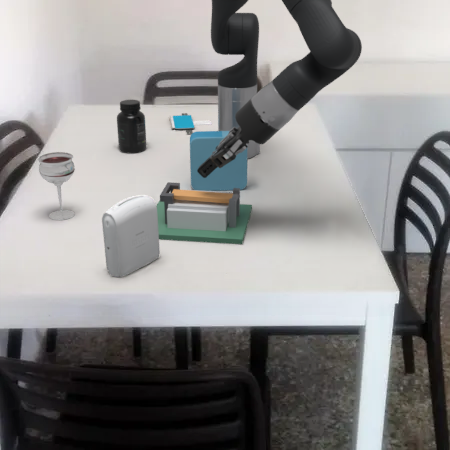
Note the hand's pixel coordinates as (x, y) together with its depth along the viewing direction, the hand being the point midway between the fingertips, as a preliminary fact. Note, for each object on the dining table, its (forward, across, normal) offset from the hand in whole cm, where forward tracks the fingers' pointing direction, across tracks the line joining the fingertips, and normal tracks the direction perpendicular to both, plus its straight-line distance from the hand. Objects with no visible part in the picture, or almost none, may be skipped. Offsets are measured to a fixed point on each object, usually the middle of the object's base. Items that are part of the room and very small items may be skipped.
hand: (201, 173), depth 136 cm
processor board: (+8, 0, +7) cm, 10 cm away
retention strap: (-1, 0, +8) cm, 8 cm away
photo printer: (+13, +19, +1) cm, 23 cm away
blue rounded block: (+7, -19, +8) cm, 22 cm away
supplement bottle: (+25, -41, -10) cm, 49 cm away
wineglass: (+27, 0, -13) cm, 30 cm away
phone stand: (+19, -64, -3) cm, 67 cm away
